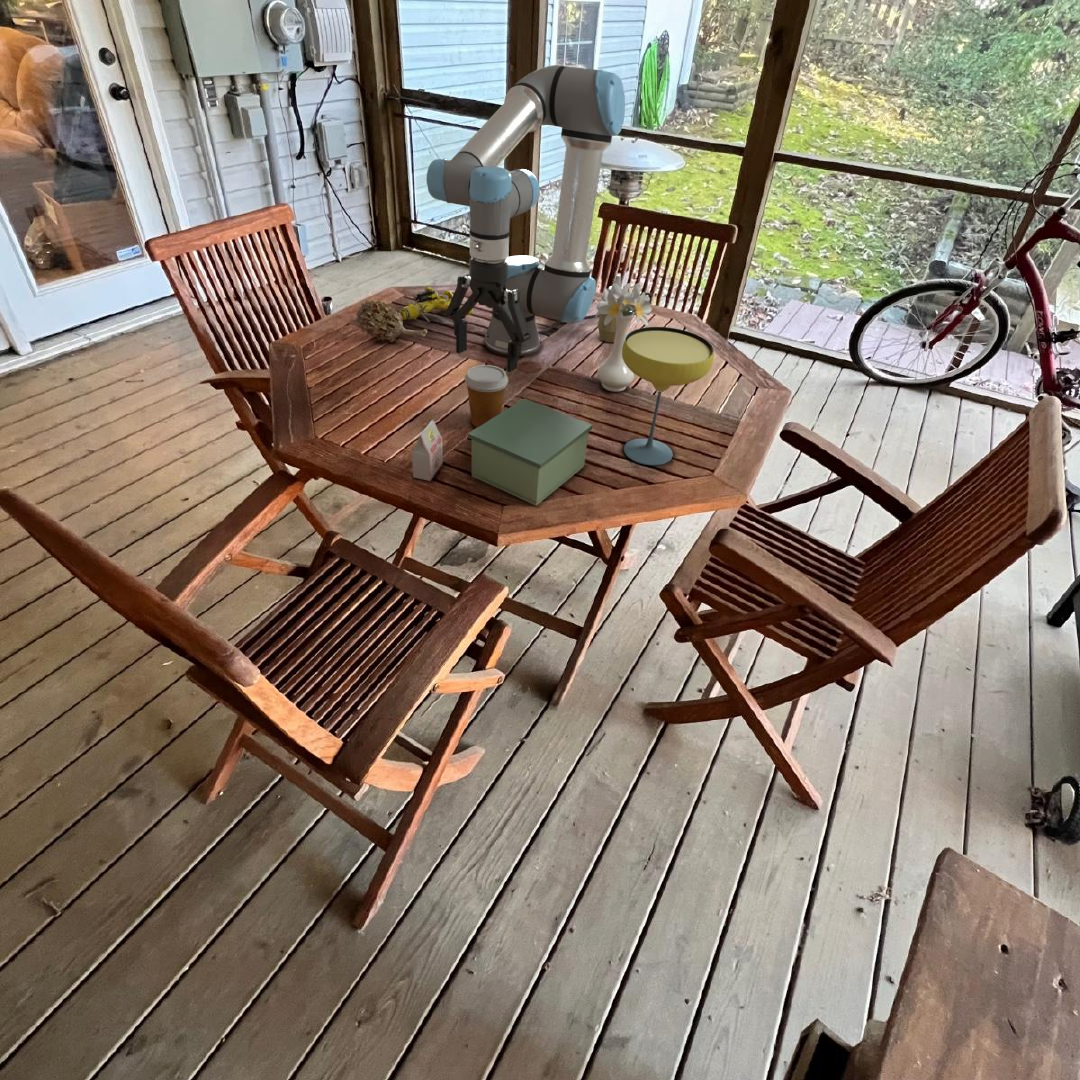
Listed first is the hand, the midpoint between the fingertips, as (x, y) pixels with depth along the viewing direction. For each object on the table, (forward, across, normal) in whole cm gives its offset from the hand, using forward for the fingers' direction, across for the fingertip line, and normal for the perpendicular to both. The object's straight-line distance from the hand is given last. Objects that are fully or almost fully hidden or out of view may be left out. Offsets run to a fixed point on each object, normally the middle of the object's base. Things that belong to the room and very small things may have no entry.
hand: (486, 360), depth 147 cm
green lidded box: (+15, +19, -10) cm, 26 cm away
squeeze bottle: (+15, -2, +61) cm, 63 cm away
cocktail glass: (+15, +35, +13) cm, 40 cm away
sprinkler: (+15, -50, +39) cm, 65 cm away
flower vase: (+15, +13, +36) cm, 41 cm away
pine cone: (+15, -45, +18) cm, 51 cm away
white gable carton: (+16, +3, -23) cm, 28 cm away
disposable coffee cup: (+15, 0, 0) cm, 15 cm away
